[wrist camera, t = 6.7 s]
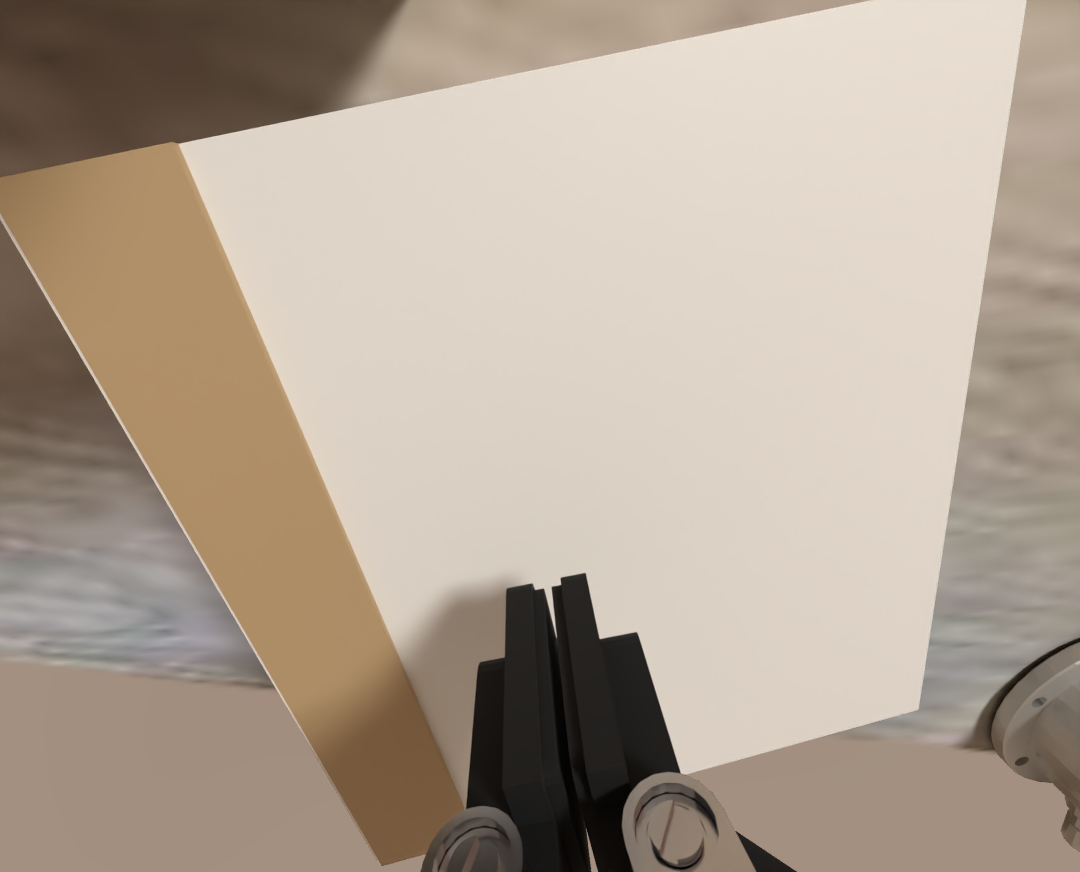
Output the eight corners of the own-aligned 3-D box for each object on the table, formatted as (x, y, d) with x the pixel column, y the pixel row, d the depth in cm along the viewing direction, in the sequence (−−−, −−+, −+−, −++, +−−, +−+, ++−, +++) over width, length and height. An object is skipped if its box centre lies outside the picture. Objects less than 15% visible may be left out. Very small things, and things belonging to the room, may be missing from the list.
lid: (899, 689, 17) (923, 714, 17) (380, 832, 17) (375, 867, 16) (988, -13, 10) (1044, -39, 9) (20, 189, 9) (-32, 183, 8)
